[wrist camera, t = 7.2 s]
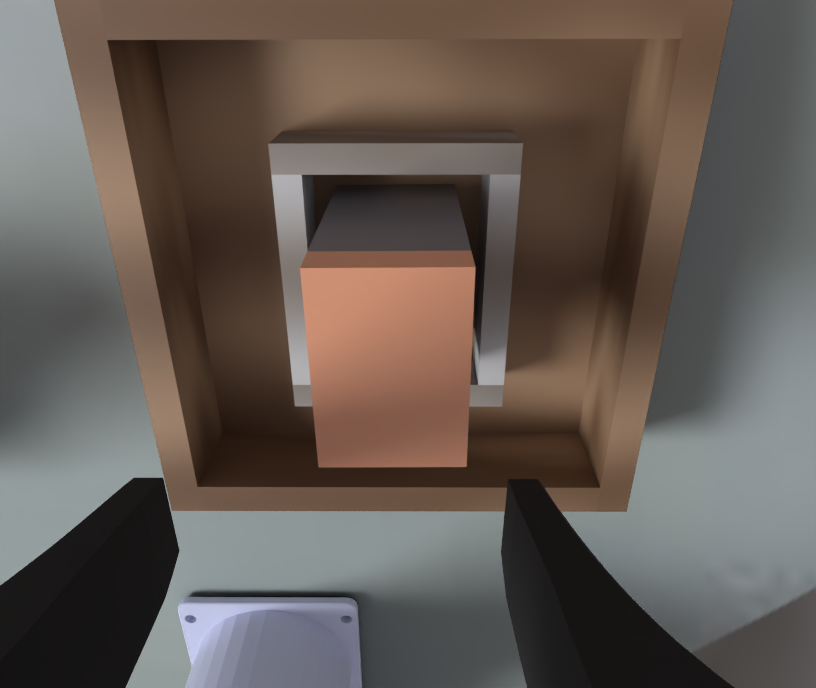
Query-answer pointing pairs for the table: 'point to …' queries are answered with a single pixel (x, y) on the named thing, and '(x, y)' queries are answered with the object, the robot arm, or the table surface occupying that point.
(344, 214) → the rectangular block
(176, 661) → the table surface
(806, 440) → the table surface
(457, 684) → the table surface
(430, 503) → the walled box
